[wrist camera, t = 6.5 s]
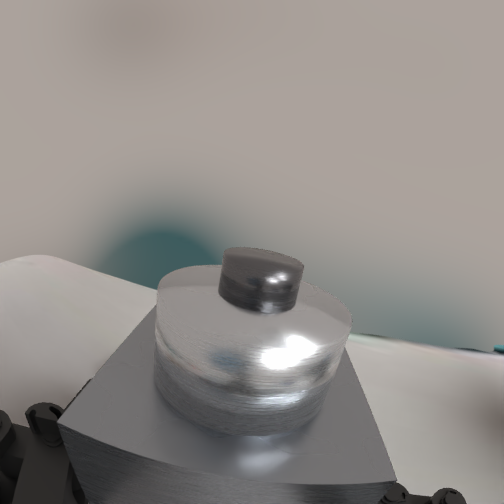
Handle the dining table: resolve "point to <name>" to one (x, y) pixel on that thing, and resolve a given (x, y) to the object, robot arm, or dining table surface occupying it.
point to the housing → (230, 397)
